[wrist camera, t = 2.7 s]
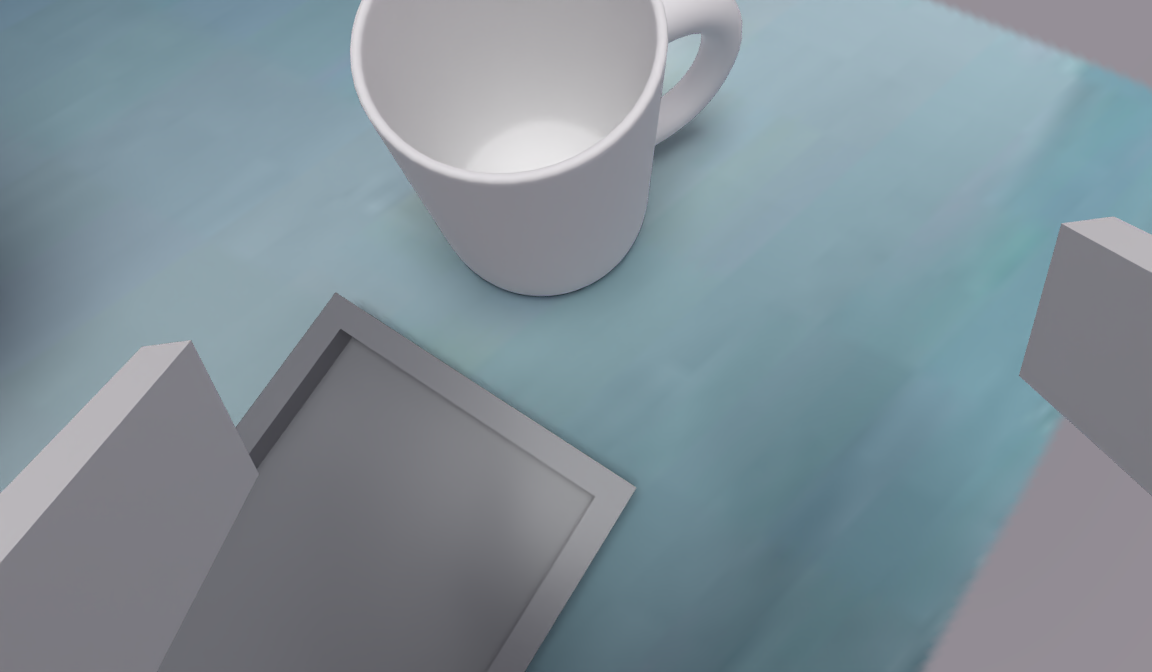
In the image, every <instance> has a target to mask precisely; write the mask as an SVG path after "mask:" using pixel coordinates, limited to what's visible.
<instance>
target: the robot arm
mask: <svg viewBox="0 0 1152 672" xmlns="http://www.w3.org/2000/svg"><path fill="white" fill-rule="evenodd" d="M1019 376H1020V377H1021V378H1022V379H1023V380H1025V381H1026V382H1027V383H1028V384H1029V385H1030V386H1031V387H1032V388H1033V389H1034V390H1036V391H1037V392H1038V393H1039V394H1040V395H1041V396H1042V397H1043V398H1044V399H1045V400H1047V401H1048V402H1049V403H1050V404H1051V405H1052V406H1053V407H1054V408H1055V409H1056V410H1058V411H1059V412H1060V413H1061V414H1062V415H1063V416H1064V417H1065V418H1066V419H1067V420H1069V421H1070V422H1071V423H1072V424H1073V425H1074V426H1075V427H1076V428H1077V429H1079V430H1080V431H1081V432H1082V433H1083V434H1084V435H1085V436H1086V437H1087V438H1088V439H1090V440H1091V441H1092V442H1093V443H1094V444H1095V445H1096V446H1097V447H1098V448H1100V449H1101V450H1102V451H1103V452H1104V453H1105V454H1106V455H1107V456H1108V457H1109V458H1111V459H1112V460H1113V461H1114V462H1115V463H1116V464H1117V465H1118V466H1119V467H1120V468H1122V469H1123V470H1124V471H1125V472H1126V473H1127V474H1128V475H1129V476H1131V478H1133V479H1134V480H1135V481H1136V482H1137V483H1138V484H1139V485H1140V486H1141V487H1143V488H1144V489H1145V490H1146V491H1147V492H1148V493H1149V494H1150V495H1151V496H1152V235H1151V234H1149V233H1147V232H1145V231H1143V230H1140V229H1138V228H1136V227H1134V226H1132V225H1130V224H1128V223H1126V222H1124V221H1122V220H1120V219H1118V218H1116V217H1107V218H1099V219H1092V220H1084V221H1077V222H1069V223H1062V224H1061V227H1060V231H1059V234H1058V238H1057V241H1056V245H1055V249H1054V252H1053V256H1052V259H1051V263H1050V266H1049V270H1048V274H1047V277H1046V281H1045V284H1044V288H1043V292H1042V295H1041V299H1040V302H1039V306H1038V310H1037V313H1036V317H1035V320H1034V324H1033V327H1032V331H1031V335H1030V338H1029V342H1028V345H1027V349H1026V353H1025V356H1024V360H1023V363H1022V367H1021V371H1020V374H1019ZM258 475H259V473H258V471H257V469H256V467H255V465H254V463H253V461H252V459H251V457H250V456H249V454H248V452H247V450H246V448H245V446H244V444H243V442H242V440H241V438H240V436H239V434H238V432H237V430H236V428H235V426H234V424H233V422H232V420H231V418H230V416H229V414H228V412H227V410H226V408H225V406H224V404H223V402H222V400H221V398H220V396H219V394H218V392H217V390H216V388H215V386H214V384H213V382H212V380H211V378H210V376H209V374H208V372H207V370H206V368H205V367H204V365H203V363H202V361H201V359H200V357H199V355H198V353H197V351H196V349H195V347H194V345H193V343H192V341H191V340H189V341H181V342H174V343H166V344H159V345H152V346H144V347H141V348H140V349H139V350H138V351H137V352H136V353H135V354H134V355H133V356H132V357H131V359H130V360H129V361H128V362H127V363H126V364H125V365H124V366H123V367H122V368H121V369H120V370H119V371H118V372H117V373H116V374H115V375H114V376H113V377H112V378H111V379H110V380H109V381H108V382H107V383H106V384H105V385H104V387H103V388H102V389H101V390H100V391H99V392H98V393H97V394H96V395H95V396H94V397H93V398H92V399H91V400H90V401H89V402H88V403H87V404H86V405H85V406H84V407H83V408H82V409H81V410H80V411H79V412H78V414H77V415H76V416H75V417H74V418H73V419H72V420H71V421H70V422H69V423H68V424H67V425H66V426H65V427H64V428H63V429H62V430H61V431H60V432H59V433H58V434H57V435H56V436H55V437H54V438H53V439H52V440H51V442H50V443H49V444H48V445H47V446H46V447H45V448H44V449H43V450H42V451H41V452H40V453H39V454H38V455H37V456H36V457H35V458H34V459H33V460H32V461H31V462H30V463H29V464H28V465H27V466H26V467H25V468H24V470H23V471H22V472H21V473H20V474H19V475H18V476H17V477H16V478H15V479H14V480H13V481H12V482H11V483H10V484H9V485H8V486H7V487H6V488H5V489H4V490H3V491H2V492H1V493H0V672H157V670H158V668H159V666H160V664H161V663H162V661H163V659H164V657H165V655H166V653H167V651H168V649H169V647H170V645H171V643H172V641H173V639H174V637H175V635H176V634H177V632H178V630H179V628H180V626H181V624H182V622H183V620H184V618H185V616H186V614H187V612H188V610H189V608H190V606H191V605H192V603H193V601H194V599H195V597H196V595H197V593H198V591H199V589H200V587H201V585H202V583H203V581H204V579H205V577H206V576H207V574H208V572H209V570H210V568H211V566H212V564H213V562H214V560H215V558H216V556H217V554H218V552H219V550H220V548H221V546H222V545H223V543H224V541H225V539H226V537H227V535H228V533H229V531H230V529H231V527H232V525H233V523H234V521H235V519H236V517H237V516H238V514H239V512H240V510H241V508H242V506H243V504H244V502H245V500H246V498H247V496H248V494H249V492H250V490H251V488H252V487H253V485H254V483H255V481H256V479H257V477H258Z"/></svg>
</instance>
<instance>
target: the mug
mask: <svg viewBox="0 0 1152 672" xmlns="http://www.w3.org/2000/svg"><path fill="white" fill-rule="evenodd" d="M699 33H701V43H700V47H699V51H698V53H697V56H696V58H695V60H694V62H693V64H692V66H691V67H690V68H689V70H688V71H687V73H686V74H685V75H684V76H683V78H682V79H681V80H680V81H679V82H678V83H677V84H676V85H675V86H674V87H673V88H672V89H671V90H670V91H669V92H667V93H666V94H665V95H664V96H662V88H663V80H664V73H665V65H666V57H667V48H668V43H670V42H672V41H674V40H676V39H678V38H681V37H684V36H687V35H691V34H699ZM741 40H742V18H741V13H740V10H739V8H738V5H737V3H736V2H735V0H362V1H361V3H360V6H359V8H358V11H357V13H356V17H355V21H354V25H353V29H352V36H351V47H350V56H351V71H352V76H353V81H354V86H355V89H356V92H357V95H358V97H359V100H360V103H361V105H362V107H363V109H364V111H365V112H366V114H367V116H368V118H369V120H370V121H371V123H372V124H373V126H374V127H375V129H376V131H377V132H378V134H379V135H380V137H381V138H382V140H383V141H384V143H385V145H386V146H387V148H388V149H389V151H390V152H391V154H392V155H393V157H394V159H395V160H396V162H397V163H398V165H399V166H400V168H401V169H402V171H403V173H404V174H405V176H406V177H407V179H408V180H409V182H410V183H411V185H412V187H413V188H414V190H415V191H416V193H417V194H418V196H419V197H420V199H421V201H422V202H423V204H424V205H425V207H426V208H427V210H428V211H429V213H430V215H431V216H432V218H433V219H434V221H435V222H436V224H437V225H438V227H439V229H440V230H441V232H442V233H443V235H444V236H445V238H446V239H447V241H448V243H449V244H450V245H451V247H452V248H453V249H454V251H455V252H456V253H457V255H458V256H459V257H460V259H461V260H462V261H463V262H464V263H465V264H466V265H467V266H468V267H469V268H470V269H471V270H472V271H474V272H475V273H476V274H478V275H479V276H480V277H482V278H483V279H485V280H486V281H488V282H490V283H492V284H493V285H495V286H497V287H500V288H502V289H505V290H507V291H510V292H514V293H518V294H522V295H531V296H552V295H559V294H565V293H568V292H572V291H576V290H578V289H581V288H583V287H586V286H588V285H590V284H592V283H594V282H595V281H597V280H599V279H600V278H602V277H603V276H604V275H606V274H607V273H609V272H610V271H611V270H612V269H613V268H614V267H615V266H616V265H617V264H618V263H619V262H620V261H621V260H622V259H623V258H624V256H625V255H626V254H627V253H628V251H629V250H630V248H631V246H632V245H633V243H634V241H635V240H636V238H637V236H638V233H639V231H640V229H641V226H642V223H643V220H644V216H645V212H646V208H647V203H648V195H649V188H650V180H651V172H652V165H653V157H654V149H655V145H657V144H659V143H660V142H662V141H664V140H665V139H667V138H668V137H670V136H671V135H673V134H674V133H676V132H677V131H678V130H680V129H681V128H682V127H684V126H685V125H686V124H687V123H689V122H690V121H691V120H692V119H693V118H694V117H695V116H696V115H697V114H698V113H700V112H701V111H702V110H703V108H704V107H705V106H706V105H707V104H708V103H709V102H710V101H711V99H712V98H713V97H714V96H715V94H716V93H717V92H718V90H719V89H720V87H721V86H722V84H723V83H724V81H725V80H726V78H727V76H728V74H729V72H730V70H731V69H732V67H733V65H734V63H735V60H736V58H737V55H738V52H739V49H740V44H741ZM661 96H662V97H661Z"/></svg>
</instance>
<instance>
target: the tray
mask: <svg viewBox="0 0 1152 672" xmlns="http://www.w3.org/2000/svg"><path fill="white" fill-rule="evenodd" d="M236 430H237V432H238V434H239V436H240V438H241V440H242V442H243V444H244V446H245V448H246V450H247V452H248V454H249V456H250V457H251V459H252V461H253V463H254V465H255V467H256V469H257V471H258V473H259V475H258V477H257V479H256V481H255V483H254V485H253V487H252V488H251V490H250V492H249V494H248V496H247V498H246V500H245V502H244V504H243V506H242V508H241V510H240V512H239V514H238V516H237V517H236V519H235V521H234V523H233V525H232V527H231V529H230V531H229V533H228V535H227V537H226V539H225V541H224V543H223V545H222V546H221V548H220V550H219V552H218V554H217V556H216V558H215V560H214V562H213V564H212V566H211V568H210V570H209V572H208V574H207V576H206V577H205V579H204V581H203V583H202V585H201V587H200V589H199V591H198V593H197V595H196V597H195V599H194V601H193V603H192V605H191V606H190V608H189V610H188V612H187V614H186V616H185V618H184V620H183V622H182V624H181V626H180V628H179V630H178V632H177V634H176V635H175V637H174V639H173V641H172V643H171V645H170V647H169V649H168V651H167V653H166V655H165V657H164V659H163V661H162V663H161V664H160V666H159V668H158V670H157V672H525V670H526V668H527V667H528V665H529V664H530V662H531V660H532V659H533V657H534V655H535V654H536V652H537V650H538V649H539V647H540V645H541V644H542V642H543V640H544V639H545V637H546V636H547V634H548V632H549V631H550V629H551V627H552V626H553V624H554V622H555V621H556V619H557V617H558V616H559V614H560V613H561V611H562V609H563V608H564V606H565V604H566V603H567V601H568V599H569V598H570V596H571V594H572V593H573V591H574V589H575V588H576V586H577V585H578V583H579V581H580V580H581V578H582V576H583V575H584V573H585V571H586V570H587V568H588V566H589V565H590V563H591V562H592V560H593V558H594V557H595V555H596V553H597V552H598V550H599V548H600V547H601V545H602V543H603V542H604V540H605V538H606V537H607V535H608V534H609V532H610V530H611V529H612V527H613V525H614V524H615V522H616V520H617V519H618V517H619V515H620V514H621V512H622V511H623V509H624V507H625V506H626V504H627V502H628V501H629V499H630V497H631V496H632V494H633V492H634V491H635V489H636V487H635V486H633V485H632V484H630V483H629V482H627V481H626V480H624V479H622V478H621V477H619V476H618V475H616V474H615V473H613V472H612V471H610V470H609V469H607V468H605V467H604V466H602V465H601V464H599V463H598V462H596V461H595V460H593V459H592V458H590V457H589V456H587V455H585V454H584V453H582V452H581V451H579V450H578V449H576V448H575V447H573V446H572V445H570V444H568V443H567V442H565V441H564V440H562V439H561V438H559V437H558V436H556V435H555V434H553V433H552V432H550V431H548V430H547V429H545V428H544V427H542V426H541V425H539V424H538V423H536V422H535V421H533V420H531V419H530V418H528V417H527V416H525V415H524V414H522V413H521V412H519V411H518V410H516V409H515V408H513V407H511V406H510V405H508V404H507V403H505V402H504V401H502V400H501V399H499V398H498V397H496V396H495V395H493V394H491V393H490V392H488V391H487V390H485V389H484V388H482V387H481V386H479V385H478V384H476V383H474V382H473V381H471V380H470V379H468V378H467V377H465V376H464V375H462V374H461V373H459V372H458V371H456V370H454V369H453V368H451V367H450V366H448V365H447V364H445V363H444V362H442V361H441V360H439V359H437V358H436V357H434V356H433V355H431V354H430V353H428V352H427V351H425V350H424V349H422V348H421V347H419V346H417V345H416V344H414V343H413V342H411V341H410V340H408V339H407V338H405V337H404V336H402V335H400V334H399V333H397V332H396V331H394V330H393V329H391V328H390V327H388V326H387V325H385V324H384V323H382V322H380V321H379V320H377V319H376V318H374V317H373V316H371V315H370V314H368V313H367V312H365V311H363V310H362V309H360V308H359V307H357V306H356V305H354V304H353V303H351V302H350V301H348V300H347V299H345V298H343V297H342V296H340V295H339V294H337V293H335V294H334V295H333V297H332V298H331V299H330V301H329V302H328V303H327V305H326V306H325V307H324V309H323V310H322V312H321V313H320V314H319V316H318V317H317V318H316V320H315V321H314V322H313V324H312V325H311V326H310V328H309V329H308V330H307V332H306V333H305V334H304V336H303V337H302V339H301V340H300V341H299V343H298V344H297V345H296V347H295V348H294V349H293V351H292V352H291V353H290V355H289V356H288V357H287V359H286V360H285V362H284V363H283V364H282V366H281V367H280V368H279V370H278V371H277V372H276V374H275V375H274V376H273V378H272V379H271V380H270V382H269V383H268V384H267V386H266V387H265V389H264V390H263V391H262V393H261V394H260V395H259V397H258V398H257V399H256V401H255V402H254V403H253V405H252V406H251V407H250V409H249V410H248V411H247V413H246V414H245V416H244V417H243V418H242V420H241V421H240V422H239V424H238V425H237V426H236Z"/></svg>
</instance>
